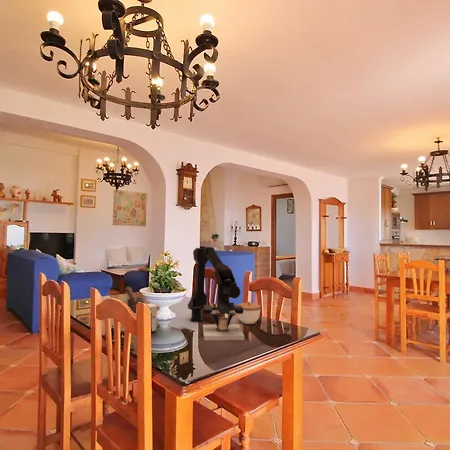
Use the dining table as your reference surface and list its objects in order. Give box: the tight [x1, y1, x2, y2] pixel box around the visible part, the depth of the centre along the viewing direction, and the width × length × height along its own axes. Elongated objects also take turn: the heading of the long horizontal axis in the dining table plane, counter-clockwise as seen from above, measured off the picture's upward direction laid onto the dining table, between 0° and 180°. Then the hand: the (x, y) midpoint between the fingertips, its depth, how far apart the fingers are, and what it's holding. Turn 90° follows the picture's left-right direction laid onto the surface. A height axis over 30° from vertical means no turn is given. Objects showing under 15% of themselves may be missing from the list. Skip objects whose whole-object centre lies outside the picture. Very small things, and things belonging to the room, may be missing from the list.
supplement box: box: [146, 303, 158, 331], centre depth 156 cm, size 7×7×13 cm
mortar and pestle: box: [124, 286, 145, 313], centre depth 167 cm, size 12×9×20 cm
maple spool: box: [217, 316, 228, 332], centre depth 154 cm, size 4×4×6 cm
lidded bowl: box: [237, 301, 261, 325], centre depth 176 cm, size 13×13×11 cm
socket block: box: [202, 323, 245, 341], centre depth 154 cm, size 18×18×2 cm
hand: (222, 327), depth 154 cm, fingers closed on maple spool, 4 cm apart
